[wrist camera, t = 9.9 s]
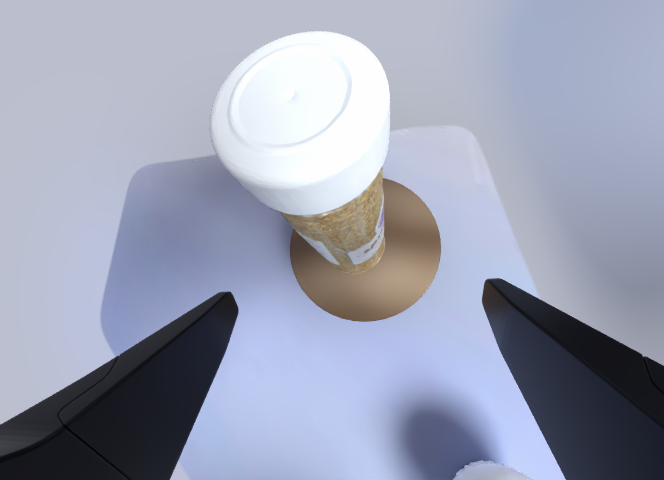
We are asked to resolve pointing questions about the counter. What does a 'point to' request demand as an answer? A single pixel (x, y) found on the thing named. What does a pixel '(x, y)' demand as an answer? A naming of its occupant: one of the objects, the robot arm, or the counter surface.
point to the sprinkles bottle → (311, 140)
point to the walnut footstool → (390, 272)
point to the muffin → (489, 472)
